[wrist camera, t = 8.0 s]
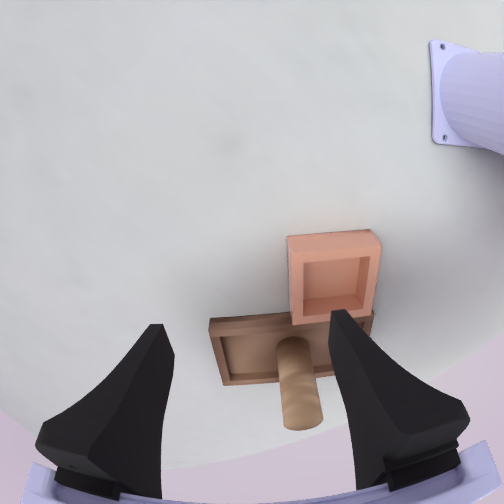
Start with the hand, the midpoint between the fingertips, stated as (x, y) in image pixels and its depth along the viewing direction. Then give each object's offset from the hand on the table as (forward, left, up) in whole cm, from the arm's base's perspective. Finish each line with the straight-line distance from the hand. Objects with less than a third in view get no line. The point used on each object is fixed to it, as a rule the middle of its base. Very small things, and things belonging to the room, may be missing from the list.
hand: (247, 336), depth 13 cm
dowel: (-3, +12, -10) cm, 16 cm away
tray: (-3, +12, -10) cm, 16 cm away
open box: (-6, +4, -10) cm, 13 cm away
